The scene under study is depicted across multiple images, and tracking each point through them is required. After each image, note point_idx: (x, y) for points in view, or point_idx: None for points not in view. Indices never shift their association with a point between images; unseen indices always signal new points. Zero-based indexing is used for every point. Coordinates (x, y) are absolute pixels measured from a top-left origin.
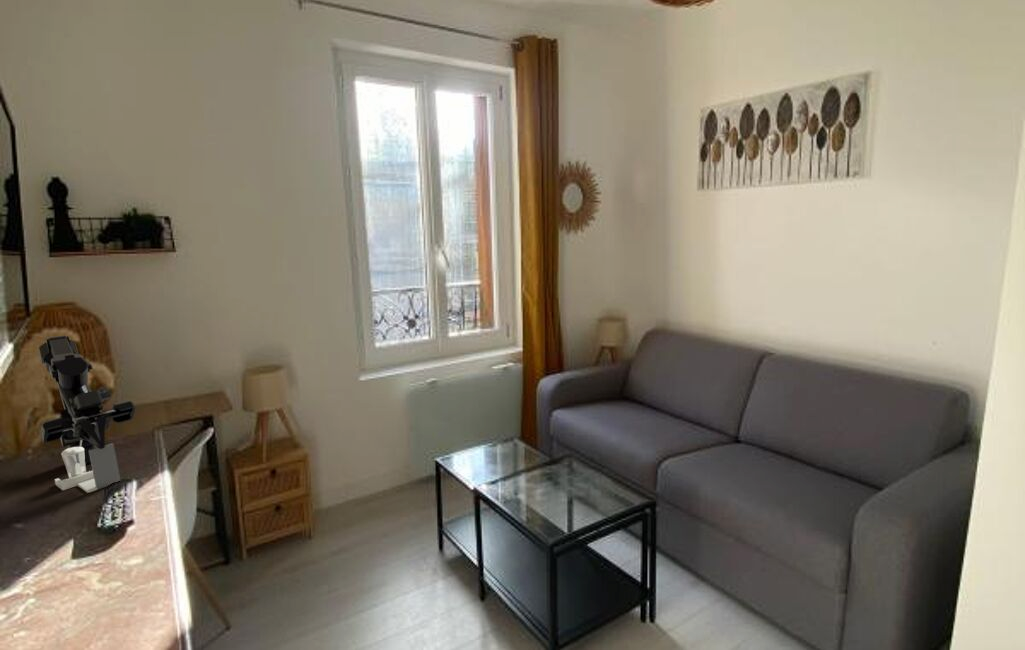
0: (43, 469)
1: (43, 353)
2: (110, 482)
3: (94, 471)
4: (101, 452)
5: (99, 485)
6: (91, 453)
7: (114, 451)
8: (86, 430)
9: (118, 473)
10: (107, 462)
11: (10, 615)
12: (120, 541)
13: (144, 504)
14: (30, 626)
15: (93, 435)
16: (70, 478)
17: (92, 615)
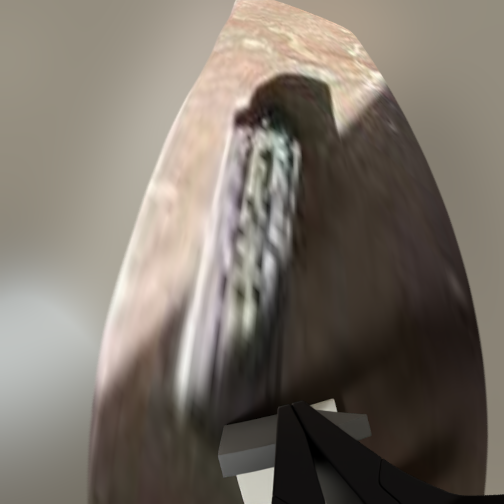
0: None
1: None
2: (258, 419)
3: (319, 411)
4: None
5: None
6: (350, 415)
7: (222, 444)
8: (441, 494)
9: (226, 429)
10: (264, 428)
11: (363, 49)
12: (264, 80)
13: (197, 175)
14: (340, 31)
15: (370, 467)
16: None
17: (293, 17)
